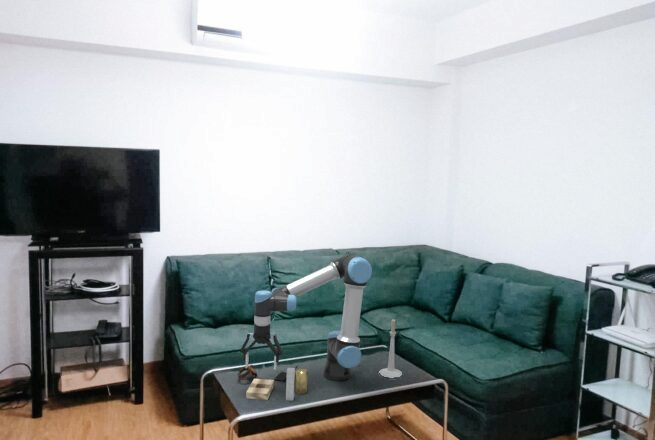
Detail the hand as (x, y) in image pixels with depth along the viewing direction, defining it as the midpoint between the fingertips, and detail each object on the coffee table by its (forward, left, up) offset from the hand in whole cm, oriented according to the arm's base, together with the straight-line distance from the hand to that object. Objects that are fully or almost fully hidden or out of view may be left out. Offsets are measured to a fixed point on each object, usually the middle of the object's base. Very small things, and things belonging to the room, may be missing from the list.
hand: (261, 368), depth 238 cm
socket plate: (0, 0, -12) cm, 12 cm away
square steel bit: (-15, +5, -12) cm, 20 cm away
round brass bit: (-19, -4, -12) cm, 23 cm away
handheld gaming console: (-9, -19, -12) cm, 24 cm away
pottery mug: (+9, -14, -12) cm, 20 cm away
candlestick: (-63, -33, -12) cm, 72 cm away
